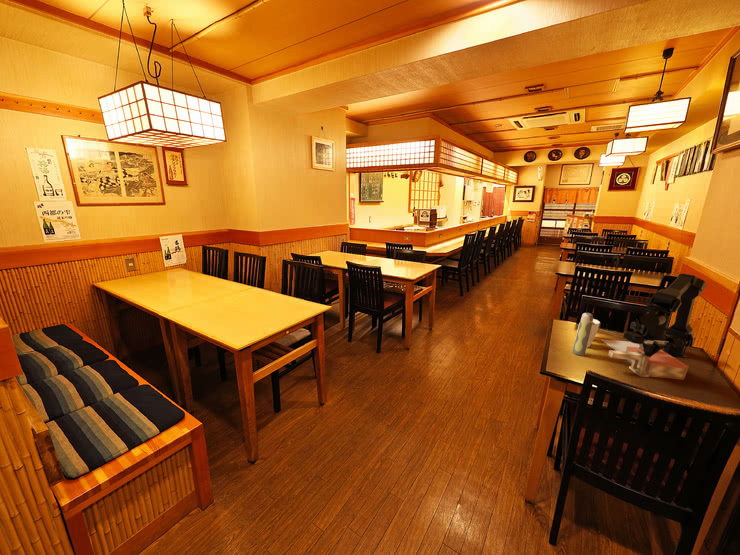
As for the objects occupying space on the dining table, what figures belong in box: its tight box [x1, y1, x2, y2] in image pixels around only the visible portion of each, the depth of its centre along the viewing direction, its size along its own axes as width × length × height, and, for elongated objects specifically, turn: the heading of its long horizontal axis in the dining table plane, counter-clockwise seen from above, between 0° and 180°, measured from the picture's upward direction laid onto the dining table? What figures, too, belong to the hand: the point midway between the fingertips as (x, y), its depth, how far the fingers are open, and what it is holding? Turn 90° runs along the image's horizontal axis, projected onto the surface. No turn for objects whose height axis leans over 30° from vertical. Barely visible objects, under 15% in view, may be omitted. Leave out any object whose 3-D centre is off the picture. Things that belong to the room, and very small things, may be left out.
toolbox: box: [624, 349, 689, 380], centre depth 130 cm, size 17×15×9 cm
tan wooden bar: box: [607, 349, 646, 360], centre depth 126 cm, size 13×2×2 cm, turn 84°
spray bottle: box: [572, 312, 594, 357], centre depth 139 cm, size 5×5×20 cm
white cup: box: [591, 318, 601, 342], centre depth 156 cm, size 8×8×10 cm
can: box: [574, 322, 595, 348], centre depth 149 cm, size 6×6×12 cm
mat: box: [601, 339, 640, 352], centre depth 147 cm, size 16×16×1 cm
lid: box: [626, 344, 689, 370], centre depth 129 cm, size 14×14×5 cm
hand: (646, 357), depth 126 cm, fingers closed
